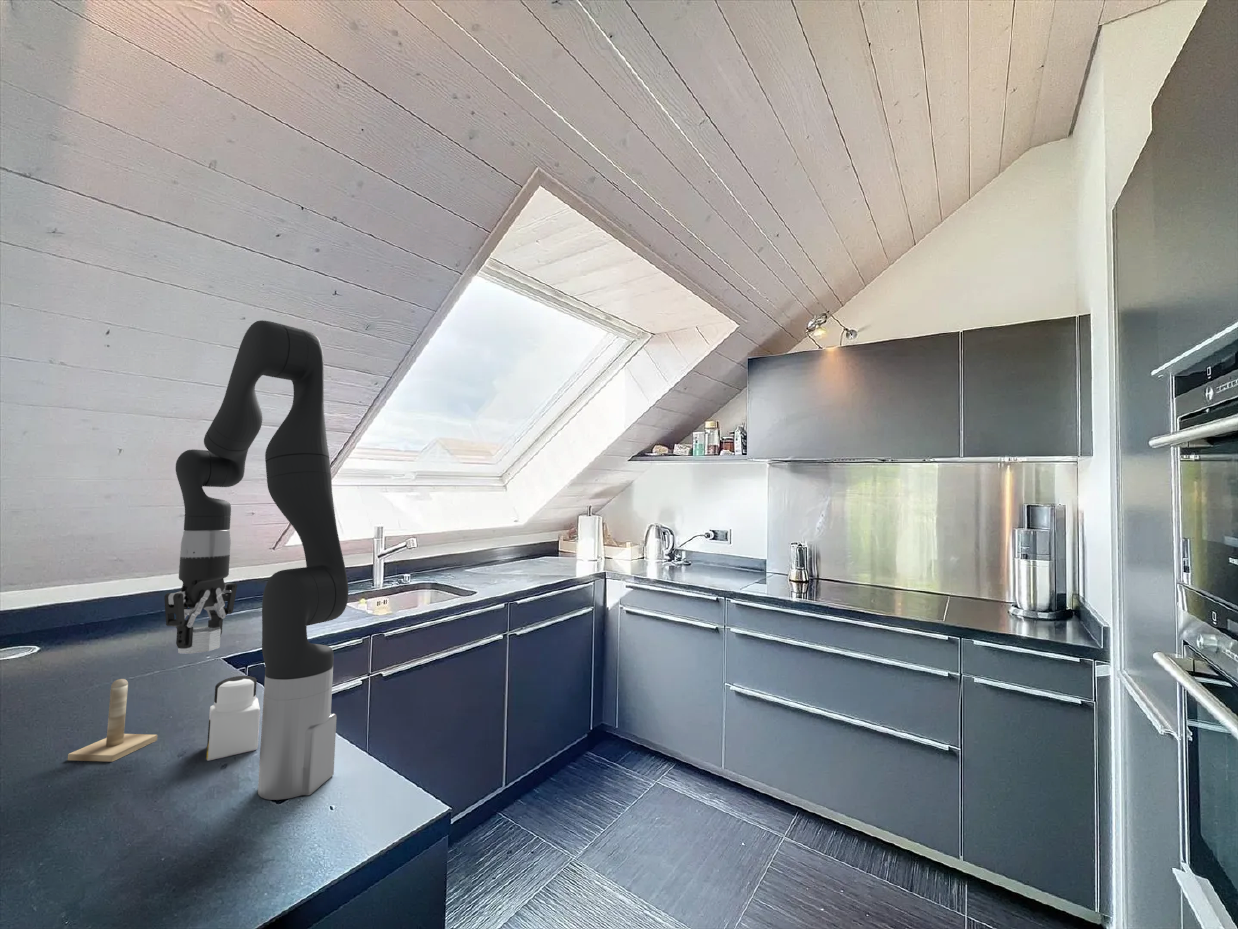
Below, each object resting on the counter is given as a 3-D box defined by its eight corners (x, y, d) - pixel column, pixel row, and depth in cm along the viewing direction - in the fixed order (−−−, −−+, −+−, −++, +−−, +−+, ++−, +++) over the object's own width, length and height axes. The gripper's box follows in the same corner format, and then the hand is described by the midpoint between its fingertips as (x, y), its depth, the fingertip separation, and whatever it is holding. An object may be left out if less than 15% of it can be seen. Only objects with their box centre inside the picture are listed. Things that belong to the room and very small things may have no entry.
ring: (227, 645, 101) (228, 626, 101) (200, 653, 95) (202, 634, 95) (197, 644, 101) (198, 626, 102) (169, 653, 95) (170, 634, 96)
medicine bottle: (207, 746, 93) (211, 677, 94) (255, 736, 97) (259, 670, 98) (206, 762, 87) (211, 688, 88) (257, 750, 92) (261, 680, 93)
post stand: (157, 740, 95) (162, 672, 96) (112, 761, 87) (118, 687, 88) (115, 739, 95) (121, 671, 96) (67, 760, 88) (74, 686, 89)
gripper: (191, 557, 92) (185, 654, 91) (252, 550, 107) (247, 634, 105) (151, 557, 93) (144, 654, 91) (217, 550, 107) (212, 634, 106)
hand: (199, 643), depth 98 cm, fingers closed on ring, 6 cm apart
